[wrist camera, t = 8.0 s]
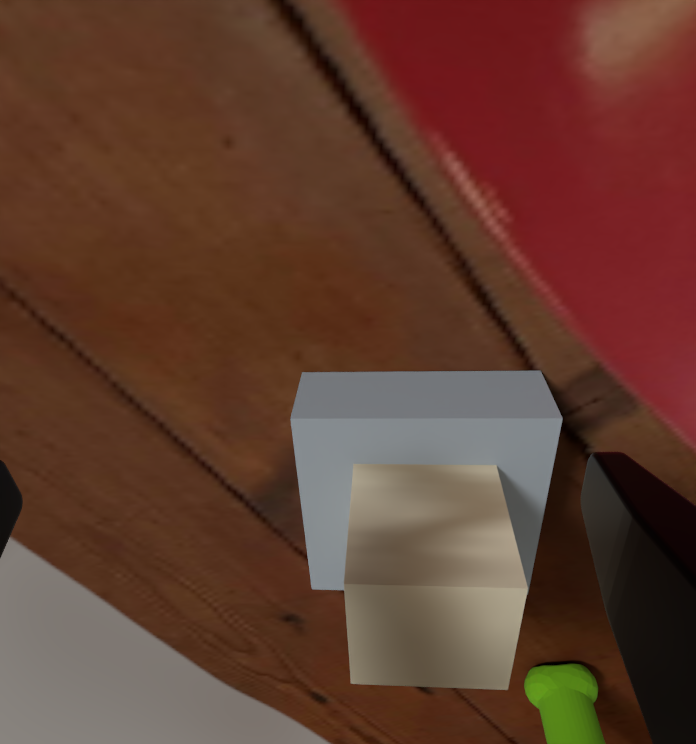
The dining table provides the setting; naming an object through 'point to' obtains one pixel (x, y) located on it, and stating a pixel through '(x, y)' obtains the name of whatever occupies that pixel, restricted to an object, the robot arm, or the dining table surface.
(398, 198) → the dining table surface
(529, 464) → the base
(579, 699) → the toy
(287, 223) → the dining table surface
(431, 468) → the cube
